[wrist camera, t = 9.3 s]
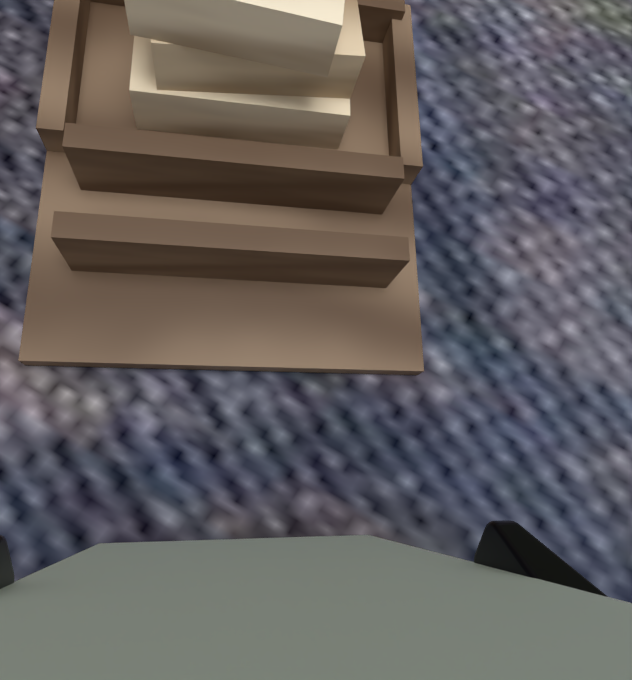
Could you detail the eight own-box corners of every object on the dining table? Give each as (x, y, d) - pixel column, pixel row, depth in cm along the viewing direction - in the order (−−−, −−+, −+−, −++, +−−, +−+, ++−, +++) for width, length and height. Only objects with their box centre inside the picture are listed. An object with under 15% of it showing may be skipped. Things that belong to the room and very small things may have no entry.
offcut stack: (338, 156, 25) (386, 31, 18) (136, 135, 23) (106, -10, 17) (334, 40, 27) (377, -112, 20) (146, 14, 25) (123, -162, 18)
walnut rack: (416, 375, 24) (454, 354, 20) (25, 365, 21) (-13, 339, 17) (394, 42, 29) (421, -23, 25) (74, -4, 26) (51, -85, 22)
